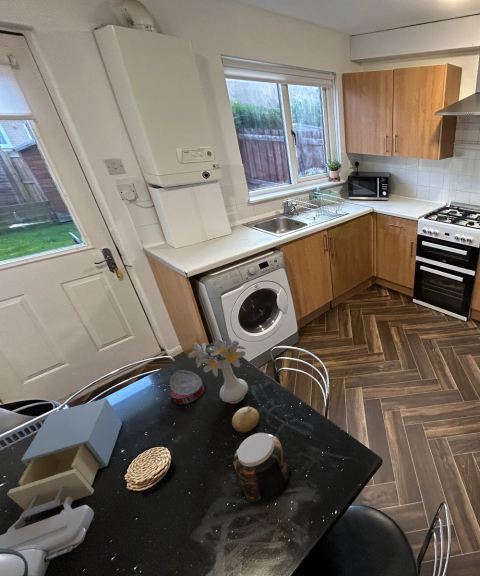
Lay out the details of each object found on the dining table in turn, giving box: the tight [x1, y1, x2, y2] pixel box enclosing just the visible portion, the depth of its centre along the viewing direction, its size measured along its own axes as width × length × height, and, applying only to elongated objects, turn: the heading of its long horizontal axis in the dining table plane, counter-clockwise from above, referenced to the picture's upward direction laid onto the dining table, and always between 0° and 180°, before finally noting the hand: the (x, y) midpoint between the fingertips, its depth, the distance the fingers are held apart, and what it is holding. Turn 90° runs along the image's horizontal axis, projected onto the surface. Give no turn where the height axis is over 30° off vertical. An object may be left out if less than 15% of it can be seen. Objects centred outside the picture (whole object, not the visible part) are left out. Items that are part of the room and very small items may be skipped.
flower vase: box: [187, 335, 249, 405], centre depth 105 cm, size 13×18×25 cm
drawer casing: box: [20, 397, 123, 470], centre depth 91 cm, size 16×14×12 cm
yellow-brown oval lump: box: [231, 404, 260, 433], centre depth 99 cm, size 8×8×7 cm
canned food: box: [168, 369, 205, 405], centre depth 112 cm, size 11×10×10 cm
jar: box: [232, 432, 290, 504], centre depth 82 cm, size 12×12×15 cm
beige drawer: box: [6, 444, 100, 518], centre depth 81 cm, size 19×13×10 cm, turn 24°
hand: (48, 505), depth 76 cm, fingers closed on beige drawer, 6 cm apart
